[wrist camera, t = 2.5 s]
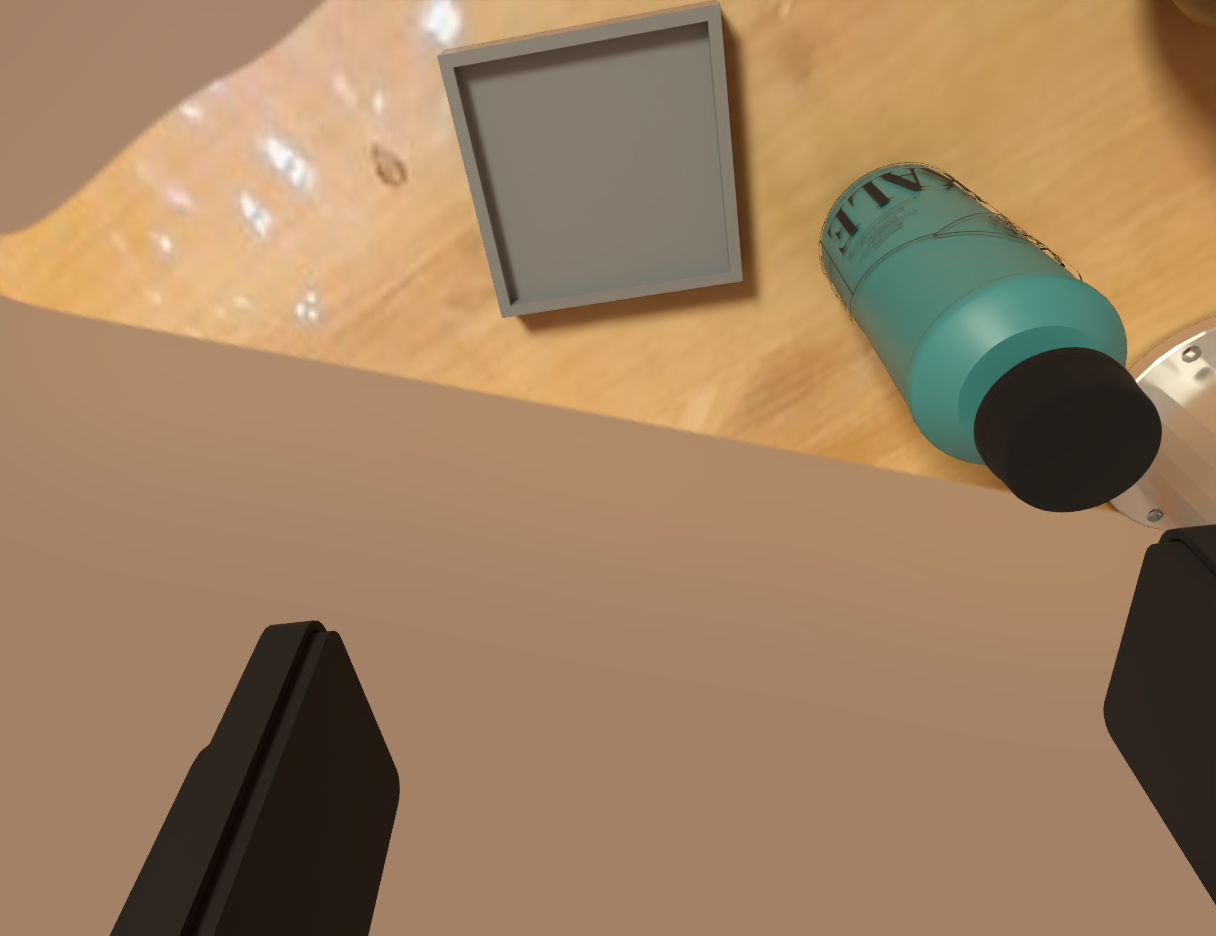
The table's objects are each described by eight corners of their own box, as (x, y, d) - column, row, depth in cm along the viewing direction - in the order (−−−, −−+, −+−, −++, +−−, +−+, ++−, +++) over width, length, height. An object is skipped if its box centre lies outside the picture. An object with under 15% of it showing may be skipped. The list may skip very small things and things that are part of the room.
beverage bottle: (904, 312, 40) (1111, 590, 23) (780, 262, 39) (905, 517, 22) (985, 182, 37) (1294, 396, 20) (853, 122, 36) (1065, 298, 19)
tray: (715, 0, 33) (720, 3, 32) (737, 267, 39) (742, 281, 38) (445, 50, 34) (437, 56, 33) (506, 303, 40) (502, 317, 39)
